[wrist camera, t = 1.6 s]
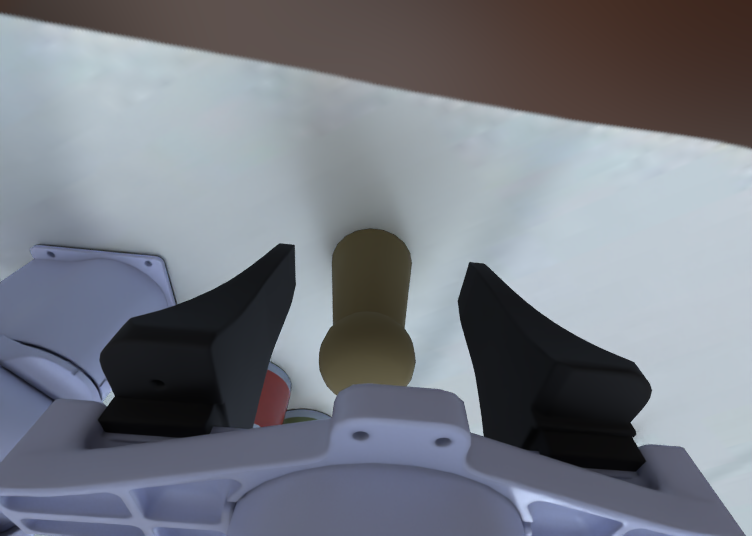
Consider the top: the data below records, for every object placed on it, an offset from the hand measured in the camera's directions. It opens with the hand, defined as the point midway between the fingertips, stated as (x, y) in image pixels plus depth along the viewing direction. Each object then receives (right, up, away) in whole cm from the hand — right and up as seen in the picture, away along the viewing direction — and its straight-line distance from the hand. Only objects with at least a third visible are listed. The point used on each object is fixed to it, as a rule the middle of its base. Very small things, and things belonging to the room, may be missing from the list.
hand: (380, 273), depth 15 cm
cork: (-1, +1, +12) cm, 12 cm away
